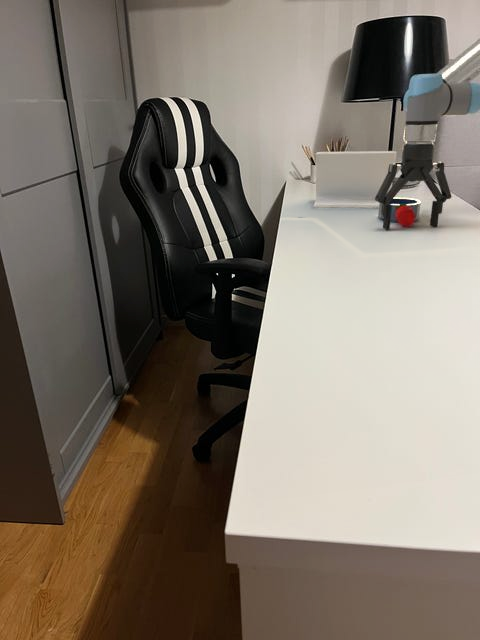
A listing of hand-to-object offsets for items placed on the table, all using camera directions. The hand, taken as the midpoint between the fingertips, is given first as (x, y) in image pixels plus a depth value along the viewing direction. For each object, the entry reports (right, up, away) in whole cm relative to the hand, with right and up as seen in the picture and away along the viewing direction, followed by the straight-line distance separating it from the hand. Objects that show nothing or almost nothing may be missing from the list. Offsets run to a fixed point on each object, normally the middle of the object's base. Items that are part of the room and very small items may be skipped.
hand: (409, 227), depth 133 cm
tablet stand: (-7, +15, +36) cm, 40 cm away
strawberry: (0, +1, 0) cm, 1 cm away
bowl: (0, +5, +11) cm, 12 cm away
